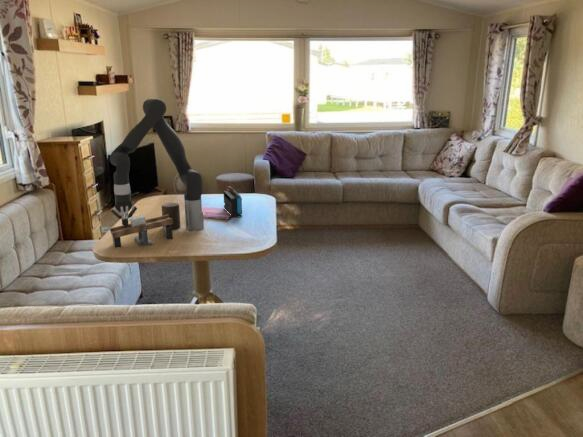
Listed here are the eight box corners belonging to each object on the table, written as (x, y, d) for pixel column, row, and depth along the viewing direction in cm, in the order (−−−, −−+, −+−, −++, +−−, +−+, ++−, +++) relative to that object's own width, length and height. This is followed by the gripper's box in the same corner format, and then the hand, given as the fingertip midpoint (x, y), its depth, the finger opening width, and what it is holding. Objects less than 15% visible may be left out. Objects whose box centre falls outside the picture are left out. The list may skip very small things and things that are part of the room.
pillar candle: (176, 230, 260) (174, 204, 256) (159, 229, 262) (158, 203, 258) (183, 225, 269) (182, 200, 265) (167, 224, 271) (165, 199, 267)
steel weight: (144, 223, 244) (142, 214, 242) (146, 226, 240) (144, 216, 238) (131, 226, 241) (129, 217, 239) (132, 229, 237) (130, 220, 235)
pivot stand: (167, 233, 256) (166, 216, 253) (174, 241, 244) (173, 224, 241) (112, 241, 243) (110, 224, 240) (116, 250, 231) (114, 232, 228)
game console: (243, 218, 283) (243, 195, 279) (233, 219, 281) (232, 196, 277) (232, 206, 308) (231, 184, 304) (222, 207, 306) (221, 185, 302)
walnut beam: (168, 218, 252) (167, 214, 251) (173, 223, 244) (172, 218, 243) (110, 233, 239) (109, 228, 238) (113, 238, 231) (112, 233, 230)
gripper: (134, 189, 238) (137, 222, 243) (107, 192, 232) (110, 225, 237) (137, 192, 232) (140, 226, 237) (109, 195, 226) (112, 229, 231)
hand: (125, 225), depth 237 cm, fingers closed
